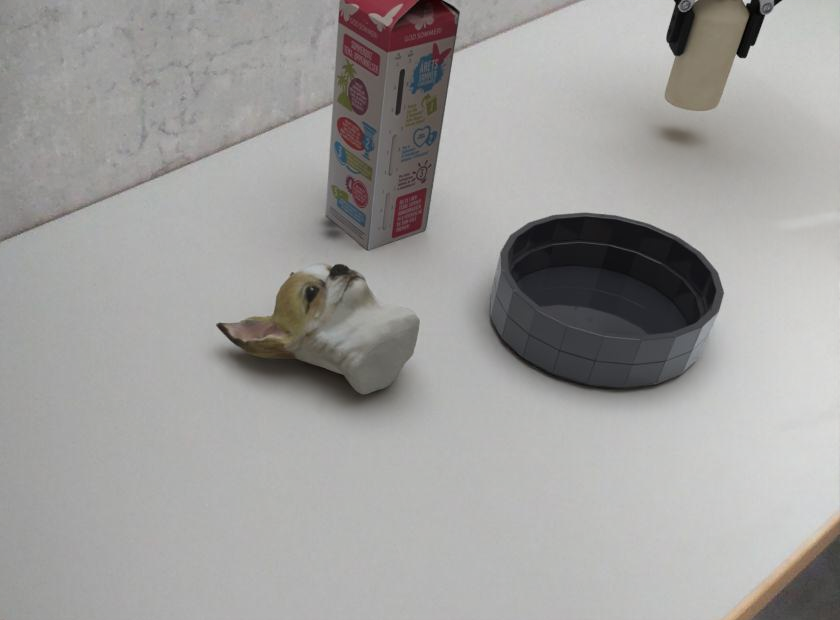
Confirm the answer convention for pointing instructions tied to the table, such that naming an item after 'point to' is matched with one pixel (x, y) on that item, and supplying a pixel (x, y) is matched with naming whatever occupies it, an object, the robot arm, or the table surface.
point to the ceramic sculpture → (332, 327)
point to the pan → (604, 299)
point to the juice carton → (388, 115)
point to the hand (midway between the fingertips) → (707, 49)
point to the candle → (707, 55)
